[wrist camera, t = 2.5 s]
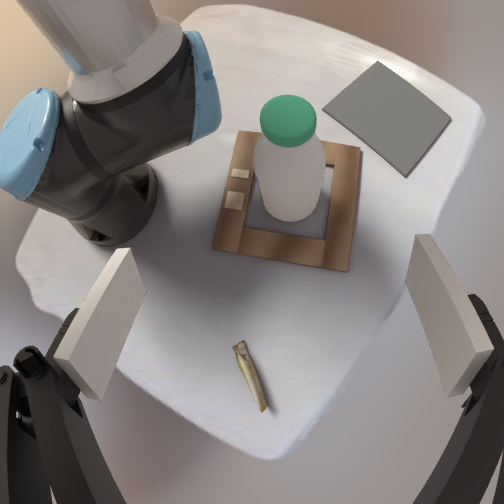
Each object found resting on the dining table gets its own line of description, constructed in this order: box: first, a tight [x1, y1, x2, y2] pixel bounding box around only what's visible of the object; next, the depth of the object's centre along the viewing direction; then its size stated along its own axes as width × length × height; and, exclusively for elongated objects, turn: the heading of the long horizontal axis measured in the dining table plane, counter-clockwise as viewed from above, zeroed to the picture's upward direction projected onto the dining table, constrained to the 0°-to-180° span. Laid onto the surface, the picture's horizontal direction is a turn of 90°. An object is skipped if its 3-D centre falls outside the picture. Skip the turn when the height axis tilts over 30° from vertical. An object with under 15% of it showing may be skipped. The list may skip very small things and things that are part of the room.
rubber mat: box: [322, 61, 451, 177], centre depth 43 cm, size 16×16×1 cm
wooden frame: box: [212, 131, 360, 272], centre depth 43 cm, size 18×18×1 cm
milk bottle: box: [253, 95, 326, 222], centre depth 33 cm, size 8×8×20 cm
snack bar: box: [233, 340, 268, 412], centre depth 39 cm, size 10×2×3 cm, turn 21°
